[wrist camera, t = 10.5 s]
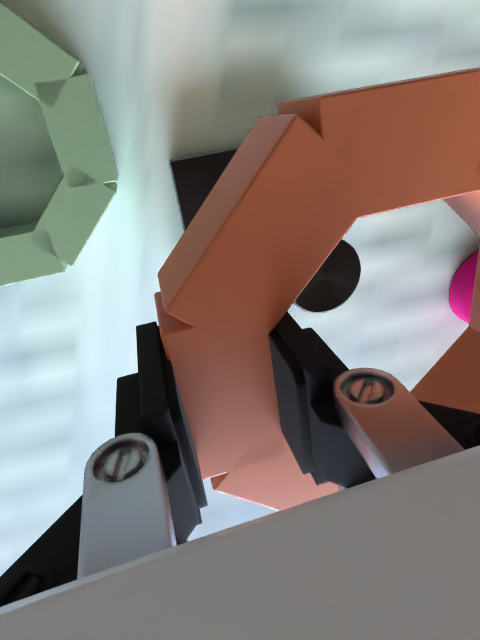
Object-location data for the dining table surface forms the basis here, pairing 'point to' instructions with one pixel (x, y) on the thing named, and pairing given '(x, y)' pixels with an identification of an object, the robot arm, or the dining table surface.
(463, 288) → the pepper mill
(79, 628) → the robot arm
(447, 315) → the dining table surface
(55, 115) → the ring green
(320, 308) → the peg stand
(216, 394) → the ring terracotta
